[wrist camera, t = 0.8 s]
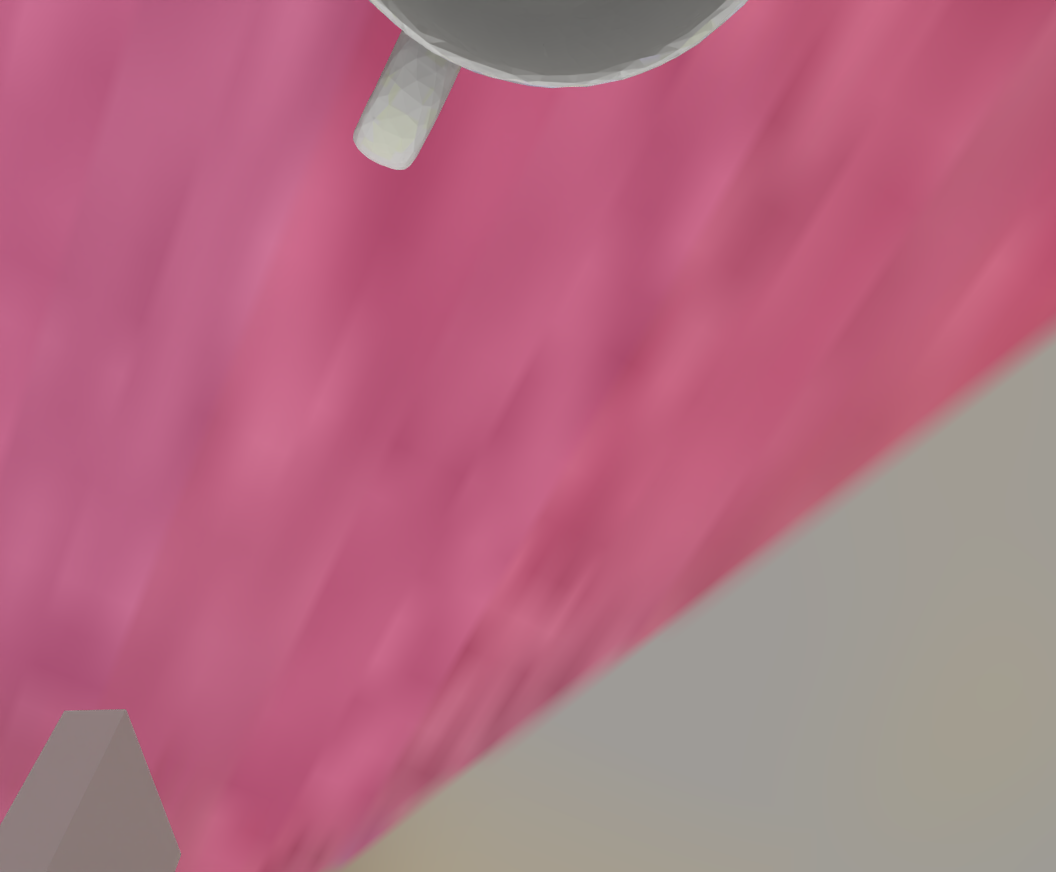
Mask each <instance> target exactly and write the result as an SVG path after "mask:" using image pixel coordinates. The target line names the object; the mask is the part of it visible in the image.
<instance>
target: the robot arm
mask: <svg viewBox="0 0 1056 872" xmlns="http://www.w3.org/2000/svg"><path fill="white" fill-rule="evenodd" d="M180 856H181V852H180V850H179V847H178V845H177V842H176V839H175V837H174V834H173V831H172V829H171V826H170V824H169V821H168V818H167V816H166V813H165V810H164V808H163V805H162V803H161V800H160V797H159V795H158V792H157V789H156V787H155V784H154V782H153V779H152V776H151V774H150V771H149V768H148V766H147V763H146V761H145V758H144V755H143V753H142V750H141V747H140V745H139V742H138V740H137V737H136V734H135V732H134V729H133V727H132V724H131V721H130V719H129V716H128V713H127V711H126V709H119V710H76V711H64V713H63V714H62V716H61V718H60V720H59V721H58V723H57V725H56V727H55V729H54V730H53V732H52V734H51V736H50V738H49V739H48V741H47V743H46V745H45V746H44V748H43V750H42V752H41V754H40V755H39V757H38V759H37V761H36V762H35V764H34V766H33V768H32V770H31V771H30V773H29V775H28V777H27V778H26V780H25V782H24V784H23V786H22V787H21V789H20V791H19V793H18V795H17V796H16V798H15V800H14V802H13V803H12V805H11V807H10V809H9V811H8V812H7V814H6V816H5V818H4V819H3V821H2V823H1V825H0V872H175V869H176V867H177V864H178V861H179V859H180Z"/></svg>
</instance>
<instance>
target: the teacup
mask: <svg viewBox="0 0 1056 872" xmlns="http://www.w3.org/2000/svg"><path fill="white" fill-rule="evenodd" d="M369 1H370V2H371V3H372V4H374V5H375V6H376V7H377V8H378V9H379V10H380V11H381V12H382V13H383V14H384V15H385V16H387V17H388V18H389V19H390V20H391V21H392V22H393V23H394V24H395V25H397V26H398V27H399V28H400V29H402V32H401V34H400V36H399V38H398V40H397V42H396V44H395V46H394V48H393V51H392V53H391V55H390V57H389V59H388V61H387V63H386V66H385V68H384V70H383V72H382V74H381V76H380V78H379V80H378V83H377V85H376V87H375V89H374V91H373V93H372V95H371V96H370V98H369V100H368V102H367V105H366V107H365V109H364V111H363V113H362V115H361V117H360V120H359V122H358V124H357V126H356V128H355V130H354V135H353V140H354V142H355V144H356V146H357V148H358V149H359V150H360V151H361V152H362V153H363V154H364V155H365V156H366V157H367V158H369V159H371V160H373V161H374V162H376V163H378V164H380V165H383V166H386V167H389V168H392V169H396V170H402V169H406V168H407V167H409V166H410V165H411V164H412V162H413V161H414V160H415V158H416V157H417V155H418V153H419V152H420V150H421V148H422V146H423V144H424V142H425V140H426V138H427V136H428V134H429V133H430V131H431V129H432V127H433V125H434V123H435V121H436V119H437V117H438V115H439V113H440V111H441V109H442V107H443V105H444V103H445V101H446V99H447V97H448V94H449V92H450V90H451V88H452V86H453V84H454V82H455V79H456V77H457V75H458V73H459V71H460V68H461V67H463V68H466V69H468V70H471V71H473V72H476V73H479V74H482V75H485V76H488V77H492V78H496V79H500V80H505V81H509V82H513V83H517V84H523V85H528V86H535V87H545V88H558V87H588V86H593V85H598V84H603V83H608V82H613V81H618V80H623V79H626V78H629V77H632V76H635V75H638V74H641V73H643V72H646V71H648V70H651V69H653V68H656V67H658V66H660V65H662V64H664V63H666V62H668V61H670V60H672V59H674V58H676V57H678V56H680V55H681V54H683V53H684V52H686V51H688V50H689V49H691V48H692V47H694V46H696V45H697V44H699V43H700V42H701V41H702V40H704V39H705V38H706V37H707V36H708V35H710V34H711V33H712V32H713V31H714V30H716V29H717V28H718V27H719V26H720V25H722V24H723V23H724V22H725V21H726V20H727V19H729V18H730V17H731V16H732V15H733V14H734V13H735V12H737V11H738V10H739V9H740V8H741V7H742V6H743V5H744V4H745V3H746V2H747V1H748V0H369Z"/></svg>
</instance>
